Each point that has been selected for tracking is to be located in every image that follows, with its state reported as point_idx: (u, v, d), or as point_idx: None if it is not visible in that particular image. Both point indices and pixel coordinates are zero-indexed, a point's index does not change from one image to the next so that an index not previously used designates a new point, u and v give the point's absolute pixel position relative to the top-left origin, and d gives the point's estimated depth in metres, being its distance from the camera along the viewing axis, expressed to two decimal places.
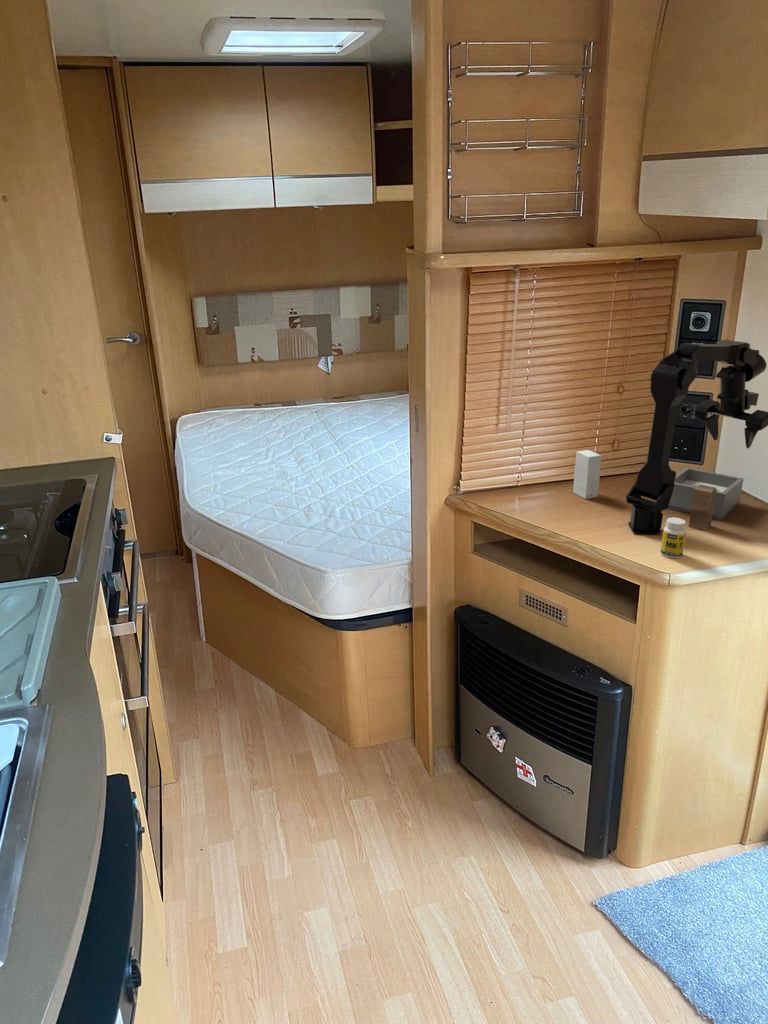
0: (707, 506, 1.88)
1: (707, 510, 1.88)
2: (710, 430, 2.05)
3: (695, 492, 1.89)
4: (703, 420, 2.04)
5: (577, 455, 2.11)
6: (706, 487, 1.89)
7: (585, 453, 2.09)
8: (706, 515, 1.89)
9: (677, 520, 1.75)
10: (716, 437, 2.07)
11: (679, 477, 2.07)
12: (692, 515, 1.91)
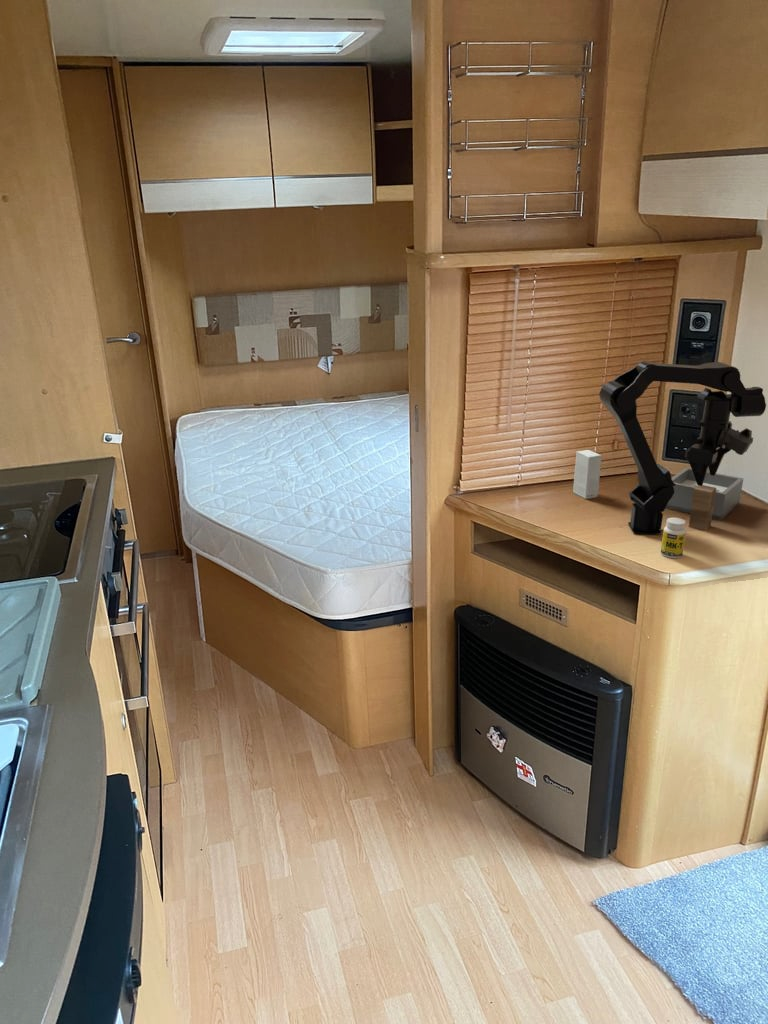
0: (707, 506, 1.88)
1: (707, 510, 1.88)
2: None
3: (695, 492, 1.89)
4: None
5: (577, 455, 2.11)
6: (706, 487, 1.89)
7: (585, 453, 2.09)
8: (706, 515, 1.89)
9: (677, 520, 1.75)
10: (712, 472, 1.91)
11: (679, 477, 2.07)
12: (692, 515, 1.91)
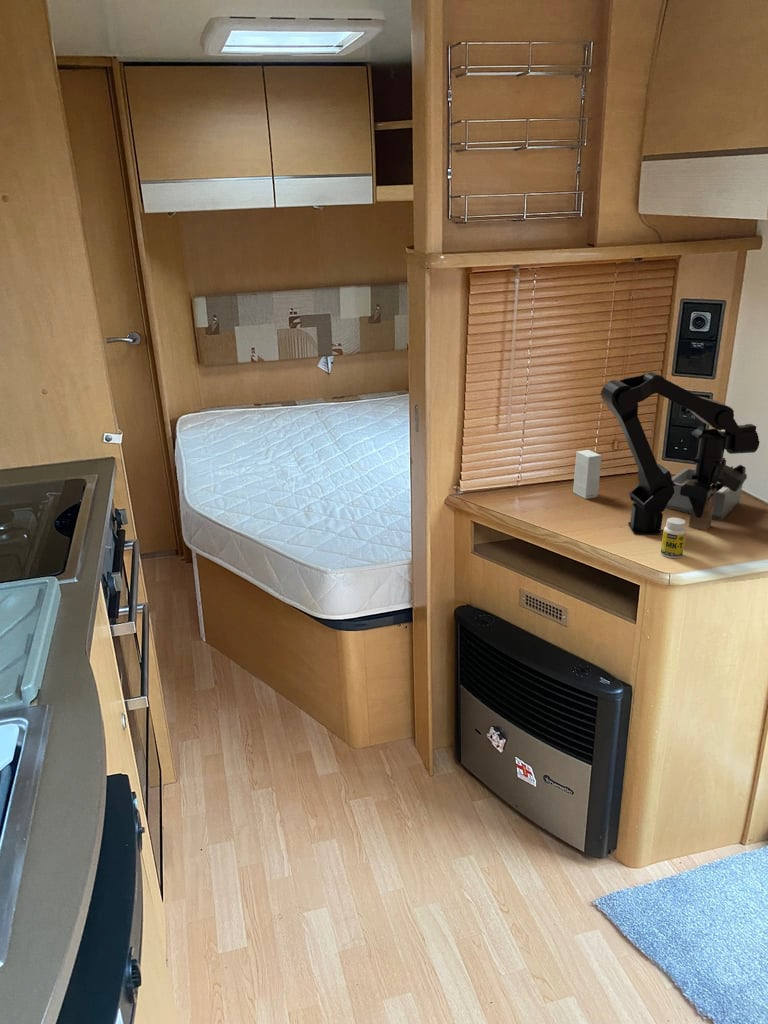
0: (707, 506, 1.88)
1: (707, 510, 1.88)
2: None
3: None
4: None
5: (577, 455, 2.11)
6: None
7: (585, 453, 2.09)
8: (706, 515, 1.89)
9: (677, 520, 1.75)
10: None
11: (679, 477, 2.07)
12: (692, 515, 1.91)
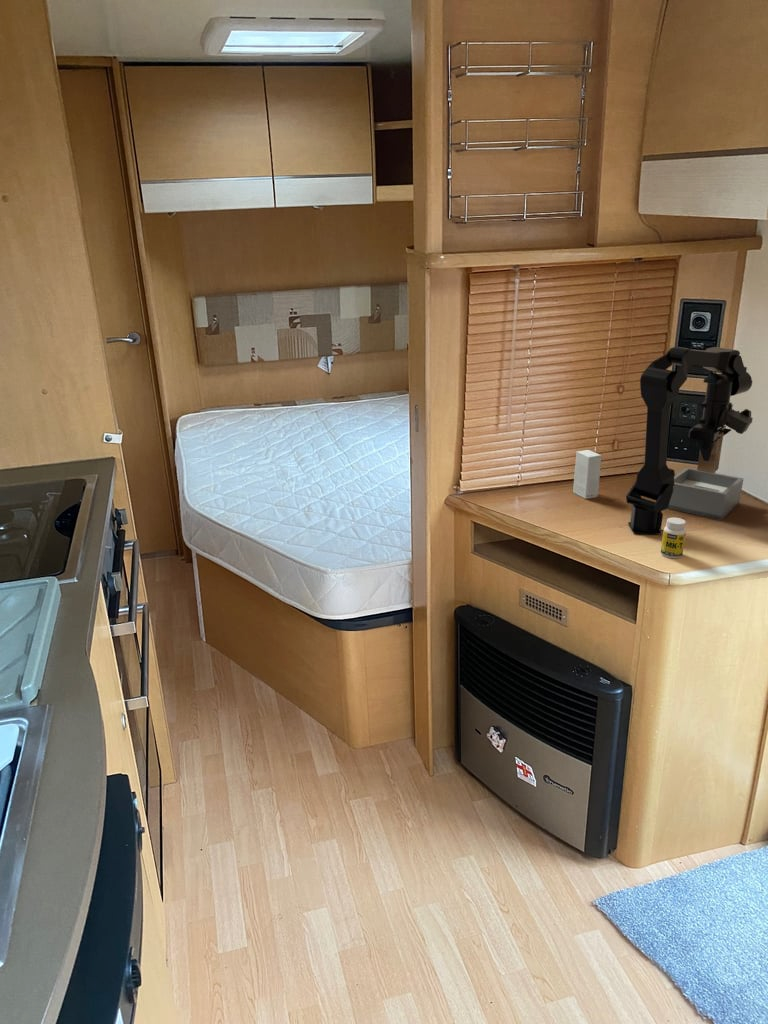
0: (715, 449, 1.96)
1: (715, 453, 1.96)
2: None
3: None
4: None
5: (577, 455, 2.11)
6: None
7: (585, 453, 2.09)
8: (714, 458, 1.97)
9: (677, 520, 1.75)
10: None
11: (679, 477, 2.07)
12: (700, 459, 1.99)
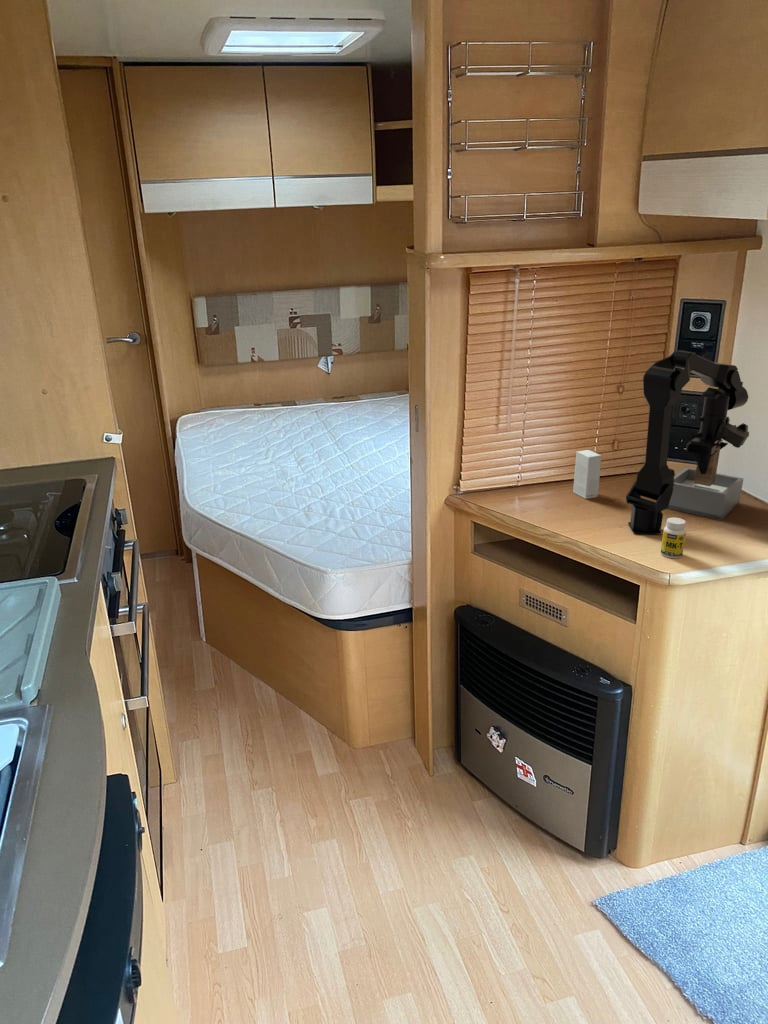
0: (712, 462, 1.98)
1: (712, 466, 1.99)
2: None
3: None
4: None
5: (577, 455, 2.11)
6: None
7: (585, 453, 2.09)
8: (711, 471, 1.99)
9: (677, 520, 1.75)
10: None
11: (679, 477, 2.07)
12: (697, 472, 2.01)
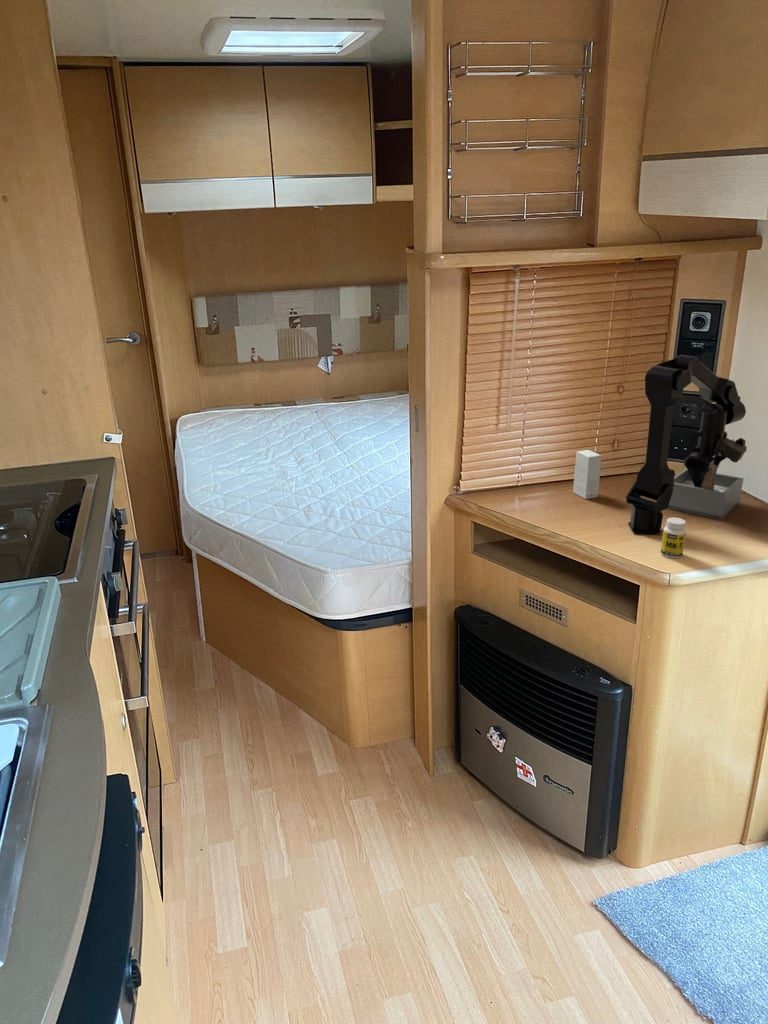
0: (709, 482, 2.00)
1: (709, 486, 2.01)
2: None
3: None
4: None
5: (577, 455, 2.11)
6: None
7: (585, 453, 2.09)
8: None
9: (677, 520, 1.75)
10: None
11: (679, 477, 2.07)
12: None
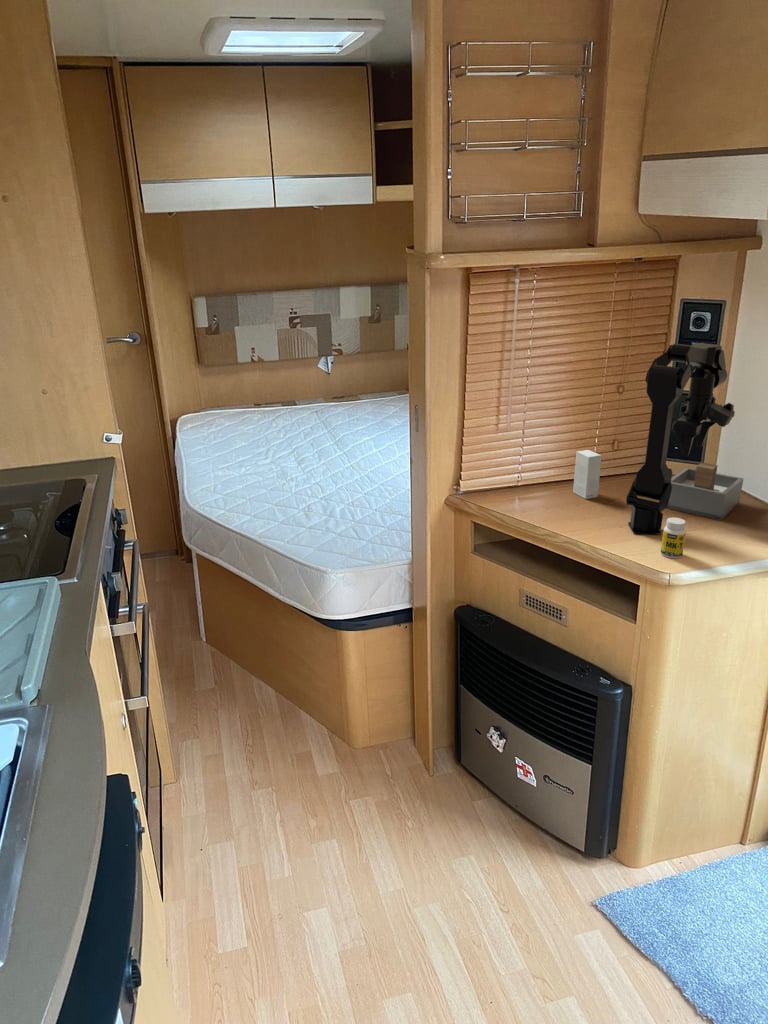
0: (709, 482, 2.00)
1: (709, 486, 2.01)
2: None
3: (697, 469, 2.01)
4: None
5: (577, 455, 2.11)
6: (708, 464, 2.02)
7: (585, 453, 2.09)
8: None
9: (677, 520, 1.75)
10: (699, 444, 2.08)
11: (679, 477, 2.07)
12: None
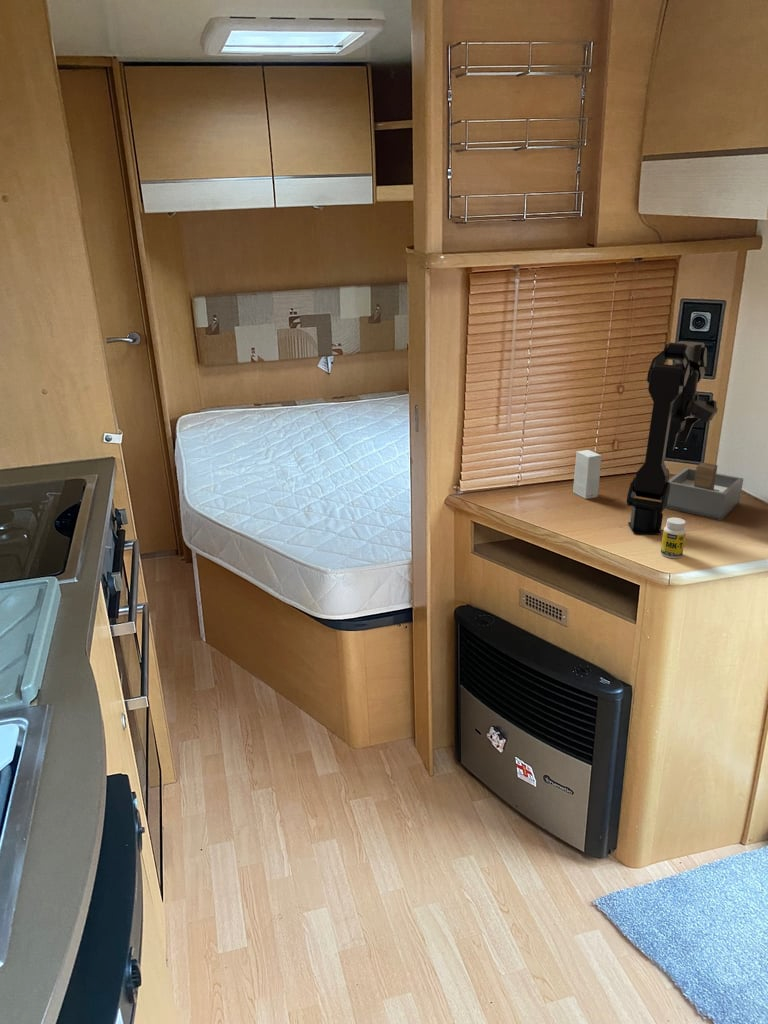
0: (709, 482, 2.00)
1: (709, 486, 2.01)
2: None
3: (697, 469, 2.01)
4: None
5: (577, 455, 2.11)
6: (708, 464, 2.02)
7: (585, 453, 2.09)
8: None
9: (677, 520, 1.75)
10: (682, 440, 2.13)
11: (679, 477, 2.07)
12: None
